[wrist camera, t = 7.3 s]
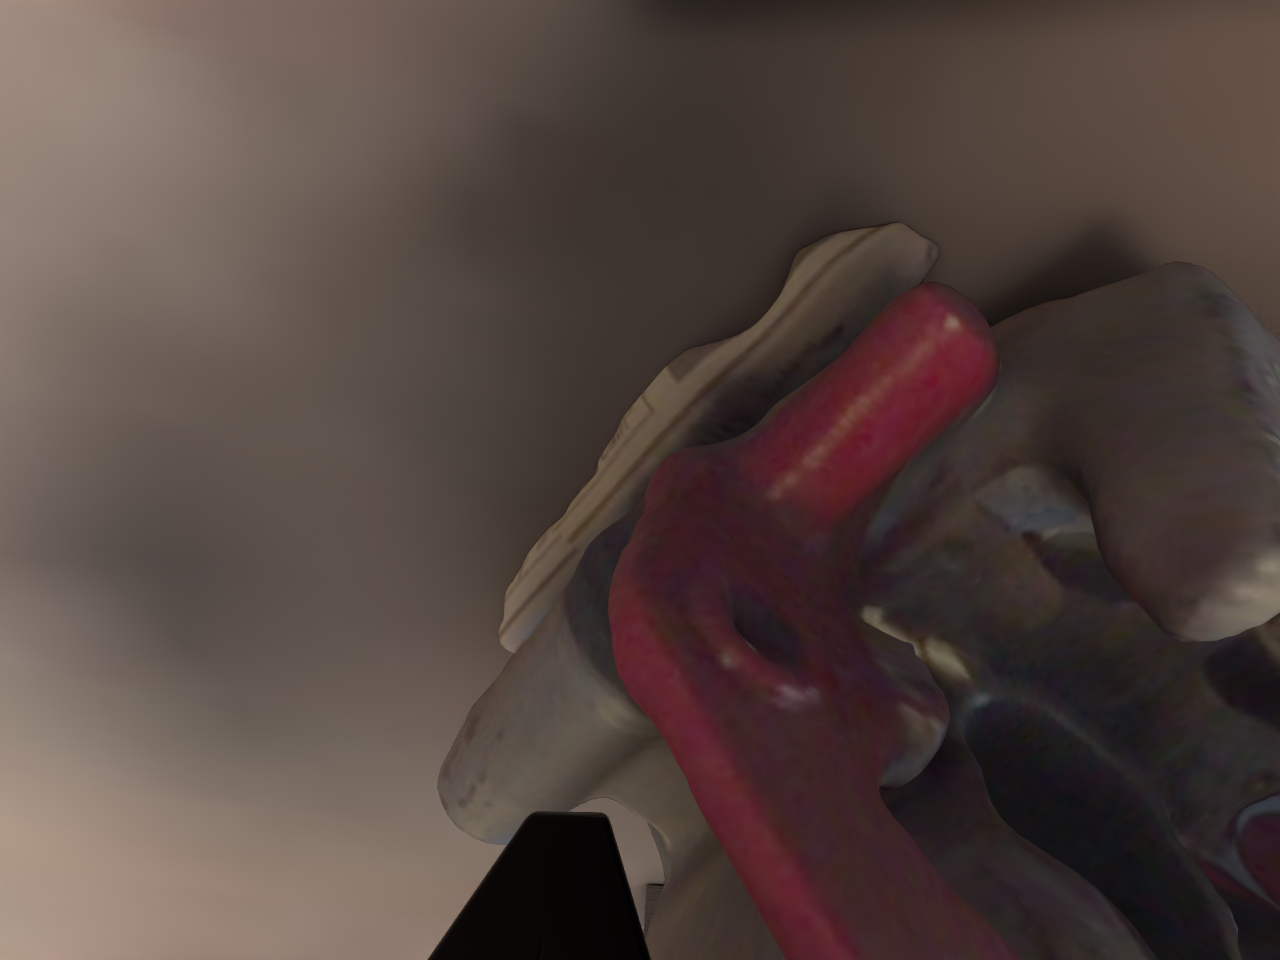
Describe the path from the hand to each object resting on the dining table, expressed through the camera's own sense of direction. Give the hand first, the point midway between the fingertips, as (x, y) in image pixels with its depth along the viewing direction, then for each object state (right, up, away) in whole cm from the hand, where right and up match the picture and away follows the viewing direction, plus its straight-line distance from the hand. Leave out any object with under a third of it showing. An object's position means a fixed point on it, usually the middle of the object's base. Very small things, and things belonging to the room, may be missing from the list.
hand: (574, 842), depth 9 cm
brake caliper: (+5, +2, +5) cm, 7 cm away
